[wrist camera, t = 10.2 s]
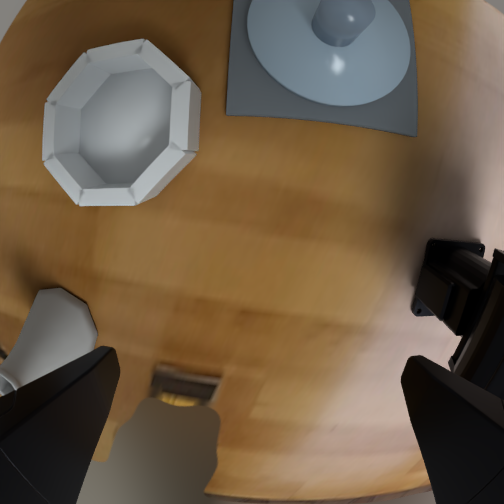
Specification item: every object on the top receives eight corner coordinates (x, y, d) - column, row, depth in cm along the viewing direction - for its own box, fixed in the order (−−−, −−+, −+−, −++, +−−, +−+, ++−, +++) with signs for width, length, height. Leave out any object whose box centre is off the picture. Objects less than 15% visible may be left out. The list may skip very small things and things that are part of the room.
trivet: (403, -9, 14) (406, -12, 13) (412, 137, 18) (416, 136, 17) (237, -36, 14) (237, -40, 13) (226, 115, 18) (226, 114, 17)
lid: (398, -6, 14) (424, -30, 9) (404, 121, 17) (439, 115, 13) (252, -33, 14) (252, -68, 9) (242, 97, 17) (238, 80, 13)
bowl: (206, 55, 17) (195, 33, 13) (199, 196, 19) (186, 206, 16) (80, 72, 16) (50, 60, 13) (75, 197, 19) (44, 207, 16)
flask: (33, 277, 22) (-39, 330, 12) (96, 295, 22) (28, 368, 12) (43, 342, 24) (-10, 402, 14) (102, 363, 24) (56, 439, 15)
